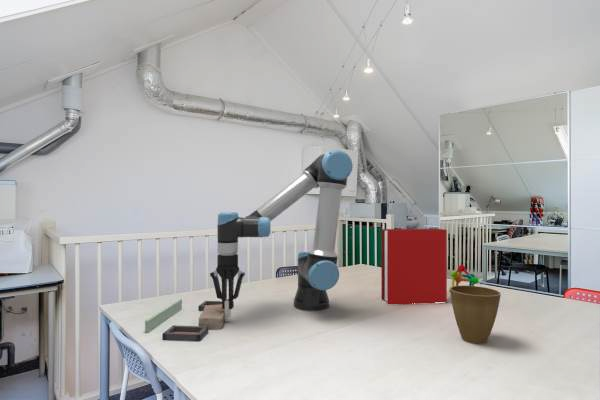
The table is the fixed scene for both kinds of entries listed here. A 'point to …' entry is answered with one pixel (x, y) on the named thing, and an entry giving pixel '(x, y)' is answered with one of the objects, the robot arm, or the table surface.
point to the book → (414, 266)
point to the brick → (212, 317)
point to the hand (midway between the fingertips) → (227, 317)
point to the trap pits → (189, 328)
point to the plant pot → (475, 311)
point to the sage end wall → (162, 315)
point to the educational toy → (458, 279)
